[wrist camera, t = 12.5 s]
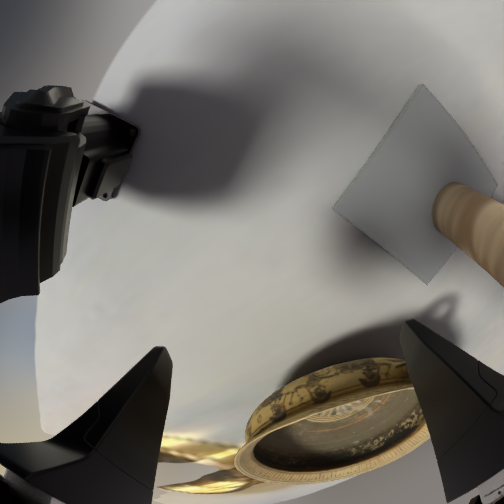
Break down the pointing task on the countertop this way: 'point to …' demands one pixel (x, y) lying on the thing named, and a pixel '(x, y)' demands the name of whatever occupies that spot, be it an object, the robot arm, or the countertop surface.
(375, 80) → the countertop surface
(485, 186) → the slate tile
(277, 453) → the gold ornate bowl
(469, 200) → the oak pepper mill
